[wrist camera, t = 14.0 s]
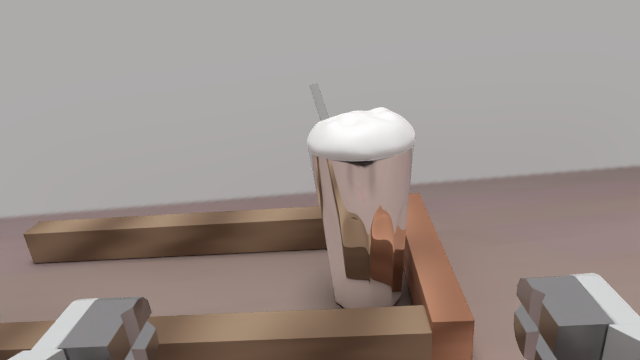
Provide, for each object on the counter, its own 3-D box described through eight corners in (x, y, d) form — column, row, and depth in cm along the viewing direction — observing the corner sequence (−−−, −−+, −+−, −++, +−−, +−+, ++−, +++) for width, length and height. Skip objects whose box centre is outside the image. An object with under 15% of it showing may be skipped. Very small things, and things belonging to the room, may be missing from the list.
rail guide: (-112, 393, 18) (-140, 345, 17) (49, 249, 29) (37, 214, 28) (470, 373, 17) (474, 320, 16) (418, 230, 27) (419, 193, 26)
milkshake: (359, 252, 26) (351, 75, 22) (434, 295, 21) (439, 87, 18) (293, 285, 23) (271, 92, 19) (363, 340, 19) (352, 110, 15)
